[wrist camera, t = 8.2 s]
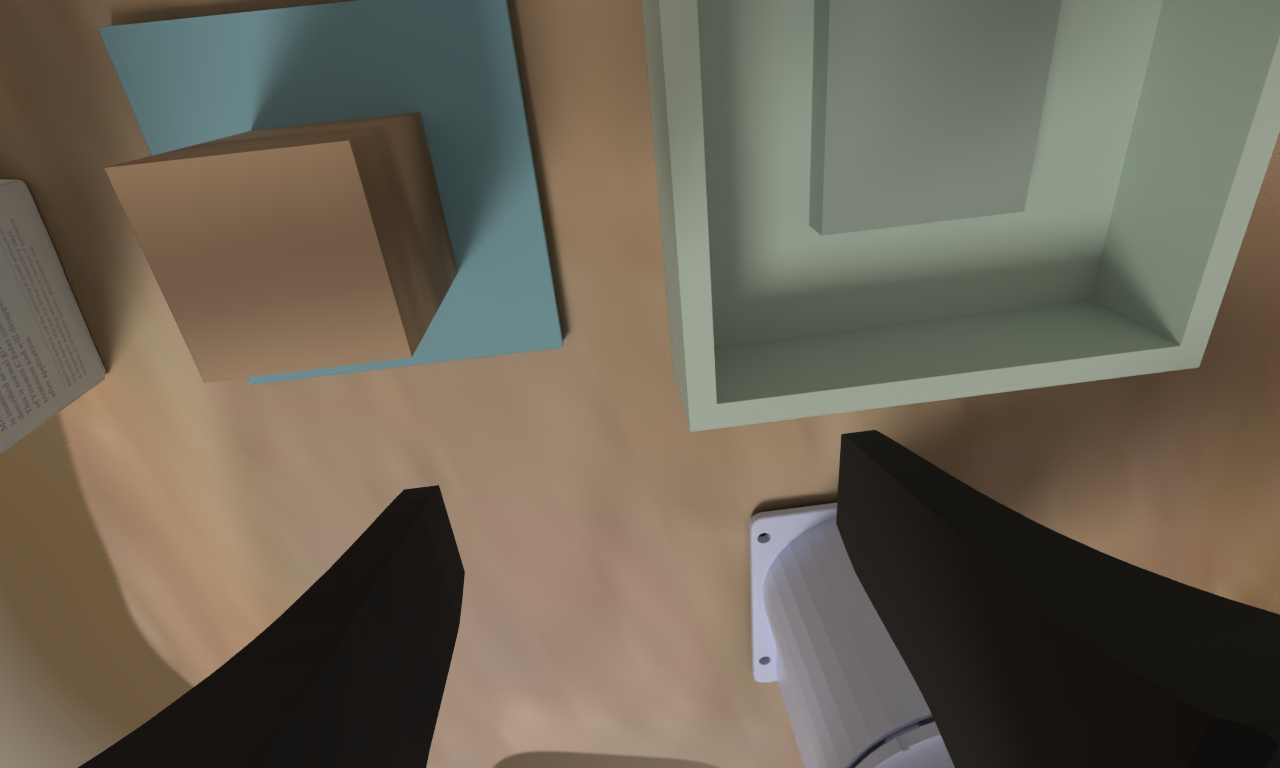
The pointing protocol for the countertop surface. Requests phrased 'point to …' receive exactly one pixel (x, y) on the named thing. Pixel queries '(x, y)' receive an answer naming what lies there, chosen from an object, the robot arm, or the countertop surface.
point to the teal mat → (370, 87)
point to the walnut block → (295, 243)
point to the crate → (948, 192)
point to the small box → (37, 323)
